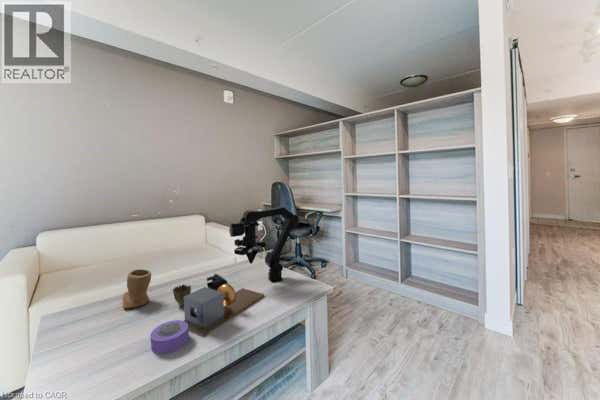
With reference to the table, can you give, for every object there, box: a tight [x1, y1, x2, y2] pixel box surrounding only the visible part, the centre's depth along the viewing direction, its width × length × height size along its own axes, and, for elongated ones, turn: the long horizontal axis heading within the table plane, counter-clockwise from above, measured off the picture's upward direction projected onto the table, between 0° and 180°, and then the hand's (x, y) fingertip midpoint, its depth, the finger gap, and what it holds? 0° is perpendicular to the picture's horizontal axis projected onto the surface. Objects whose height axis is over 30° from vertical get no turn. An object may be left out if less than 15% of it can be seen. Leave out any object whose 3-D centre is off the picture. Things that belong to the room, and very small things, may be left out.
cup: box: [172, 284, 192, 307], centre depth 116 cm, size 8×7×8 cm
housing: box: [183, 286, 265, 338], centre depth 111 cm, size 36×14×12 cm, turn 150°
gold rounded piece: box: [193, 283, 236, 315], centre depth 105 cm, size 17×9×9 cm, turn 150°
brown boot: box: [121, 268, 152, 309], centre depth 119 cm, size 15×12×15 cm
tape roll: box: [150, 319, 190, 355], centre depth 89 cm, size 12×12×5 cm
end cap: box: [206, 273, 229, 291], centre depth 131 cm, size 10×7×7 cm
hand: (251, 263), depth 135 cm, fingers closed
